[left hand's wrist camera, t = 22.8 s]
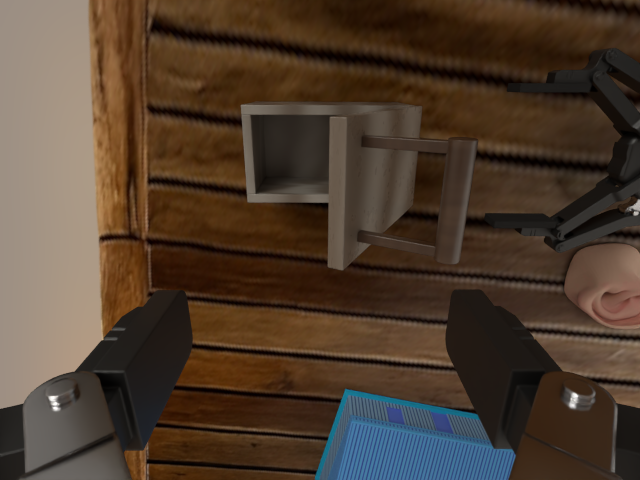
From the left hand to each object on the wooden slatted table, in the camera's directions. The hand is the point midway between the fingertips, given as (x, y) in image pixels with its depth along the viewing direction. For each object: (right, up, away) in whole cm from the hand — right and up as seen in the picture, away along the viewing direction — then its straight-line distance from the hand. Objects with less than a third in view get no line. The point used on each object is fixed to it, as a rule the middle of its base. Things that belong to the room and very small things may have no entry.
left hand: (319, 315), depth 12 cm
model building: (+20, -37, +56) cm, 70 cm away
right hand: (+19, +11, +28) cm, 35 cm away
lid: (+5, +8, +19) cm, 21 cm away
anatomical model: (+40, -4, +43) cm, 59 cm away
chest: (+1, +14, +35) cm, 38 cm away
